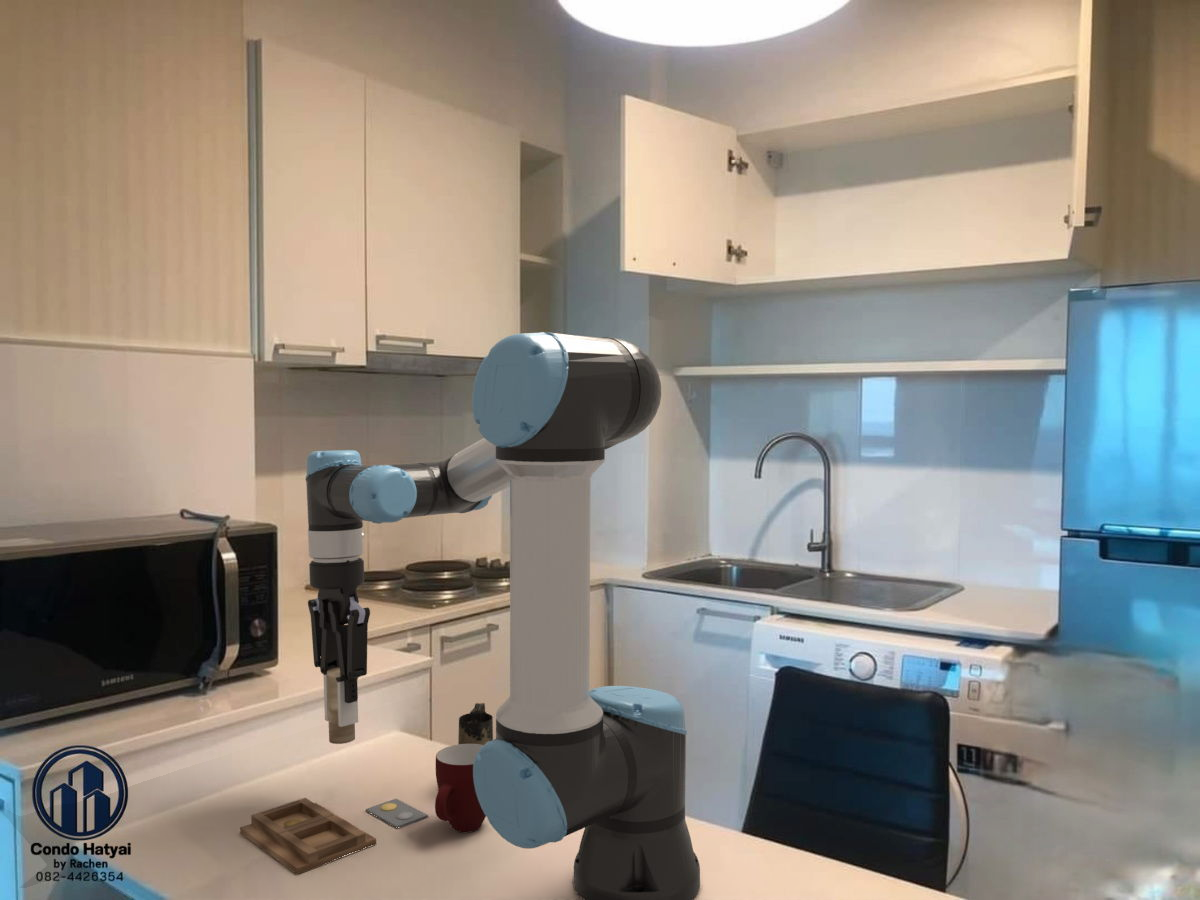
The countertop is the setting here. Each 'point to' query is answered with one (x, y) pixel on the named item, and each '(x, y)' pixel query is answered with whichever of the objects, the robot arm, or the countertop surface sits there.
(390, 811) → the key tile
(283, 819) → the board
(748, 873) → the countertop surface
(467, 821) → the mug
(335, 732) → the peg
